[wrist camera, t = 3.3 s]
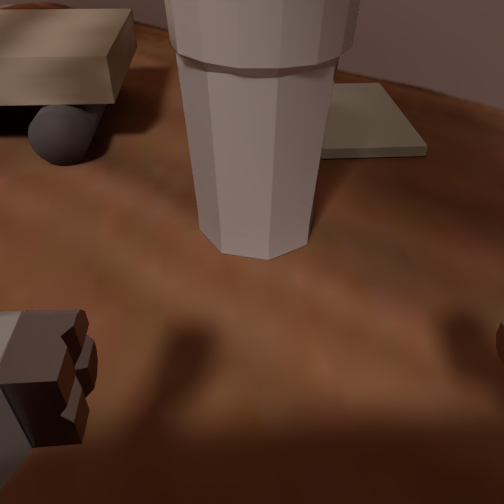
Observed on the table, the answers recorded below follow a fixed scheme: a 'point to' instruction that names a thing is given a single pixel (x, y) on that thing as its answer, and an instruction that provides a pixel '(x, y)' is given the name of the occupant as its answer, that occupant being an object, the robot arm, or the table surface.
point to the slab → (64, 72)
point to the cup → (258, 112)
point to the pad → (368, 125)
